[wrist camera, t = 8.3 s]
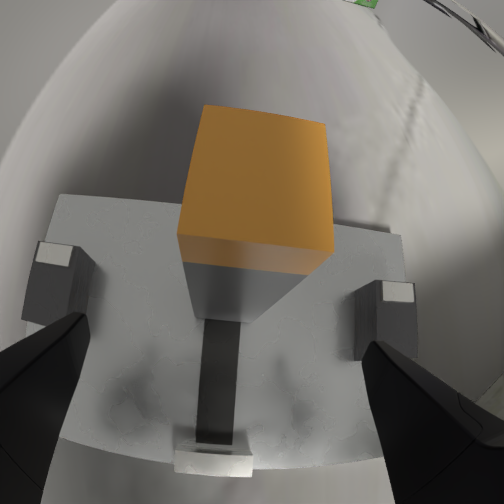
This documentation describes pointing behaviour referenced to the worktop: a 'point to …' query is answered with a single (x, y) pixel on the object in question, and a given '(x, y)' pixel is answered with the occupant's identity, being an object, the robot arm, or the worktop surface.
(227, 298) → the lever
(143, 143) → the worktop surface
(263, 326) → the breaker panel
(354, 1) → the ink box
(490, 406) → the geiger counter
